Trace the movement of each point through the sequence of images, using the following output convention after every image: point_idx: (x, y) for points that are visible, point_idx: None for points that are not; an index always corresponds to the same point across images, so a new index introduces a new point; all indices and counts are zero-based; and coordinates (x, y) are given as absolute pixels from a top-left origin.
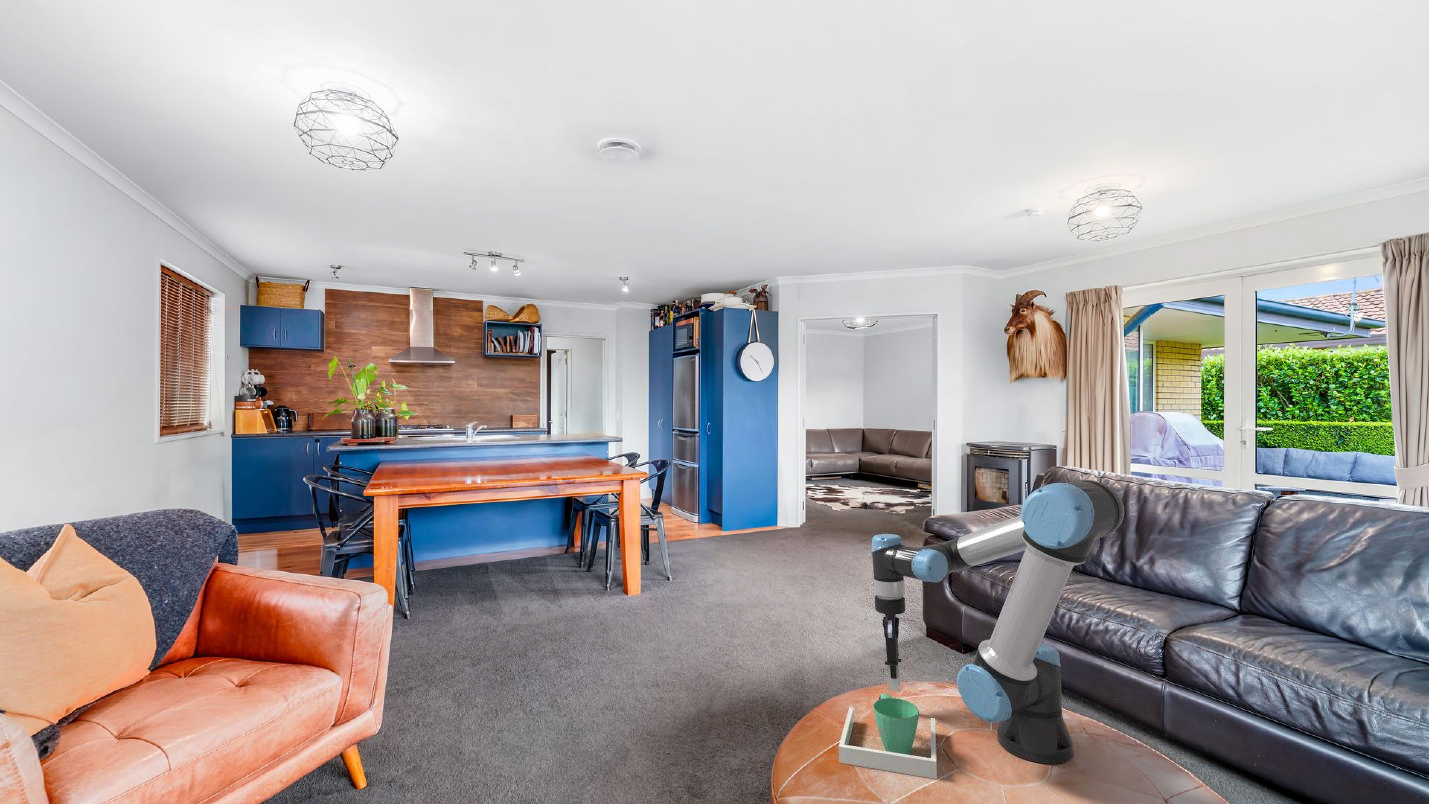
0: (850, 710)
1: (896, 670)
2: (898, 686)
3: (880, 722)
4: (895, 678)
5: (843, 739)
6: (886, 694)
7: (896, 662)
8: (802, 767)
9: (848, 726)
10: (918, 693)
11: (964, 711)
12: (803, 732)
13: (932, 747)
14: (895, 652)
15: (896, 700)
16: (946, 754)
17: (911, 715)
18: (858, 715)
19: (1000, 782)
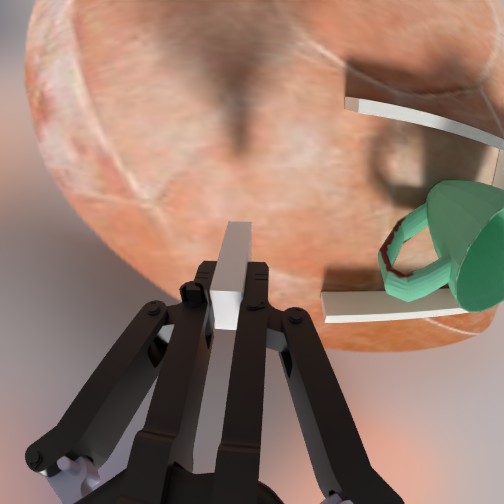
0: (344, 319)
1: (245, 282)
2: (250, 236)
3: (497, 278)
4: (265, 267)
5: (453, 310)
6: (416, 288)
7: (314, 327)
8: (456, 329)
9: (413, 312)
10: (98, 153)
11: (165, 17)
12: (369, 350)
13: (496, 144)
14: (336, 383)
15: (458, 259)
16: (437, 92)
17: (473, 201)
18: (287, 285)
19: (493, 26)
